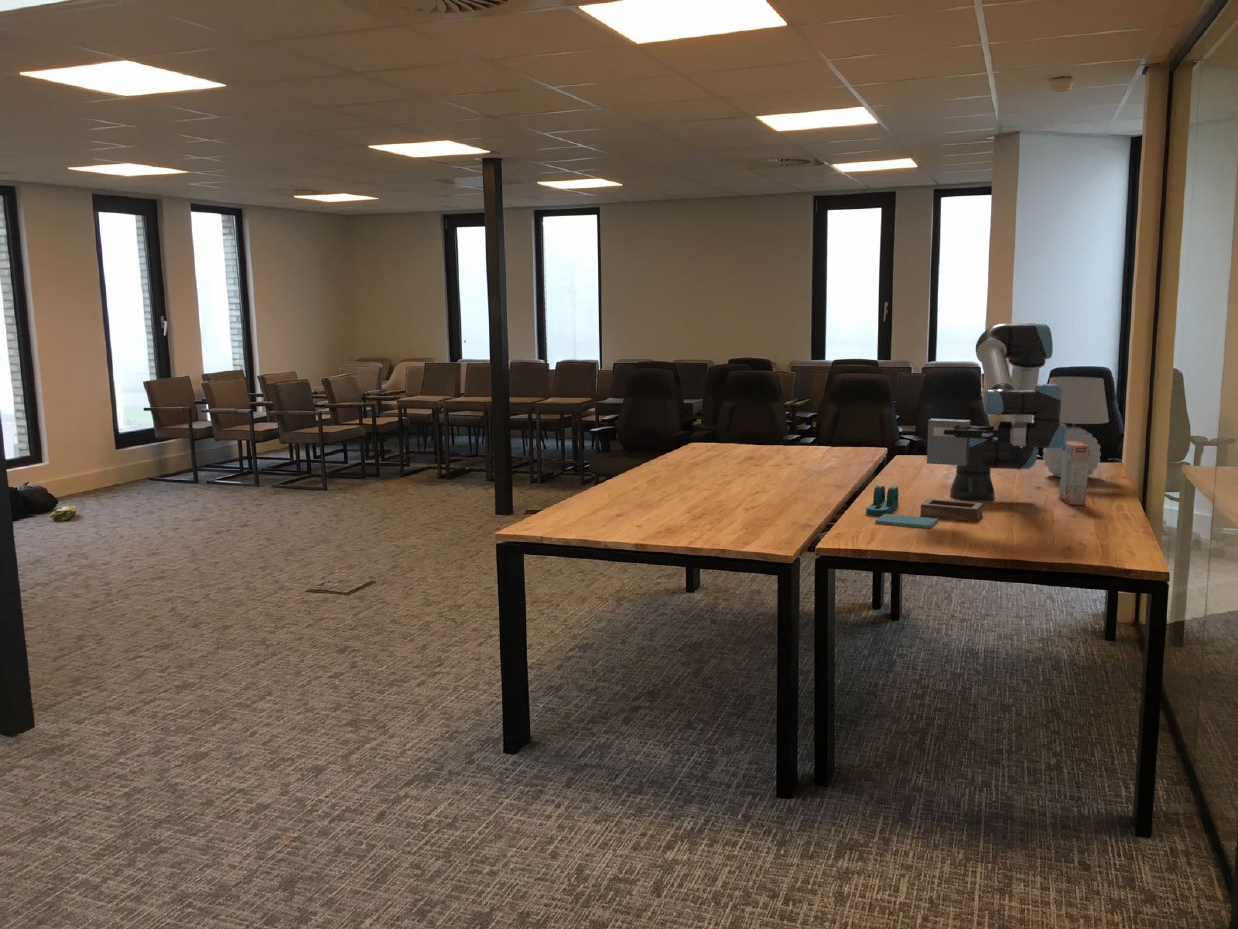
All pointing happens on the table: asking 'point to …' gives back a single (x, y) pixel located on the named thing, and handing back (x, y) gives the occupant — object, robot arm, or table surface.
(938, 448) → the dark grey block
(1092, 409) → the table lamp
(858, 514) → the table surface
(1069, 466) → the cracker box
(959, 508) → the slotted block
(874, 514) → the bracket
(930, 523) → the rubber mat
